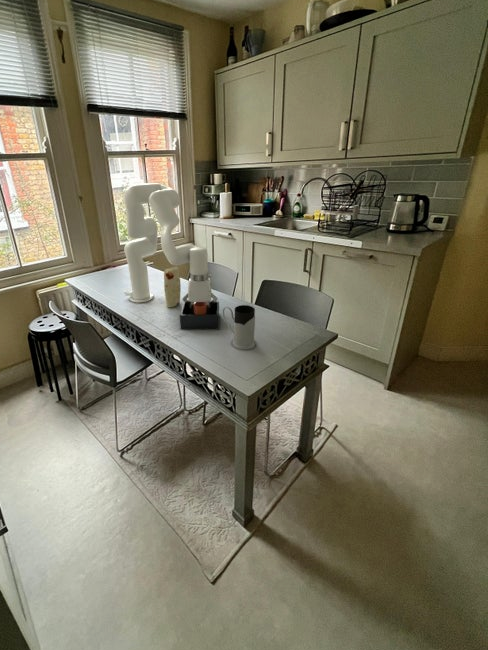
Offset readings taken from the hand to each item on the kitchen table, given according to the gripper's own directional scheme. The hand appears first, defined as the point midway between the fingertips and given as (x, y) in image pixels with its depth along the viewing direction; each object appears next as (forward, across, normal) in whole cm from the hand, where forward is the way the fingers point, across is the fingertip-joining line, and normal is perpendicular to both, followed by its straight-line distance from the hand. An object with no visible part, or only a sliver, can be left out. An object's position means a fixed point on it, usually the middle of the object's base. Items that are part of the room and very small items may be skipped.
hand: (200, 314), depth 142 cm
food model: (+4, +15, -18) cm, 24 cm away
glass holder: (+4, -16, +17) cm, 24 cm away
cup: (+3, 0, 0) cm, 3 cm away
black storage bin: (+4, 0, 0) cm, 4 cm away
